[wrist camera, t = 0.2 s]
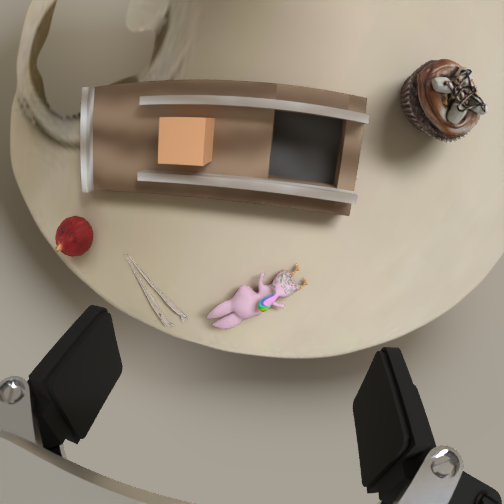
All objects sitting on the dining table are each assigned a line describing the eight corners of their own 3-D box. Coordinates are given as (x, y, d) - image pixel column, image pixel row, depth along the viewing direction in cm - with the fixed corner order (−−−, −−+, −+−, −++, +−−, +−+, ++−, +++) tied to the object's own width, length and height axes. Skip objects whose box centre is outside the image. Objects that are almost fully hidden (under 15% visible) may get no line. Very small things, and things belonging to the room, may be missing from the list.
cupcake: (378, 92, 31) (409, 84, 22) (427, 54, 27) (466, 40, 18) (423, 152, 33) (462, 165, 24) (468, 113, 29) (512, 117, 20)
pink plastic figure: (289, 250, 42) (199, 300, 44) (297, 266, 36) (193, 321, 38) (309, 284, 44) (222, 330, 46) (318, 304, 38) (220, 354, 40)
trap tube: (100, 88, 33) (79, 87, 29) (360, 99, 31) (371, 97, 27) (99, 184, 39) (79, 193, 35) (344, 208, 37) (352, 221, 33)
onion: (73, 206, 41) (41, 224, 34) (102, 213, 41) (71, 233, 34) (74, 240, 44) (45, 261, 36) (102, 248, 44) (74, 271, 36)
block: (173, 117, 32) (159, 117, 28) (214, 118, 32) (205, 117, 28) (171, 158, 34) (157, 163, 30) (211, 160, 34) (202, 166, 30)
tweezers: (191, 316, 48) (186, 323, 46) (170, 325, 49) (165, 332, 47) (128, 224, 43) (121, 228, 42) (109, 238, 45) (102, 243, 43)
